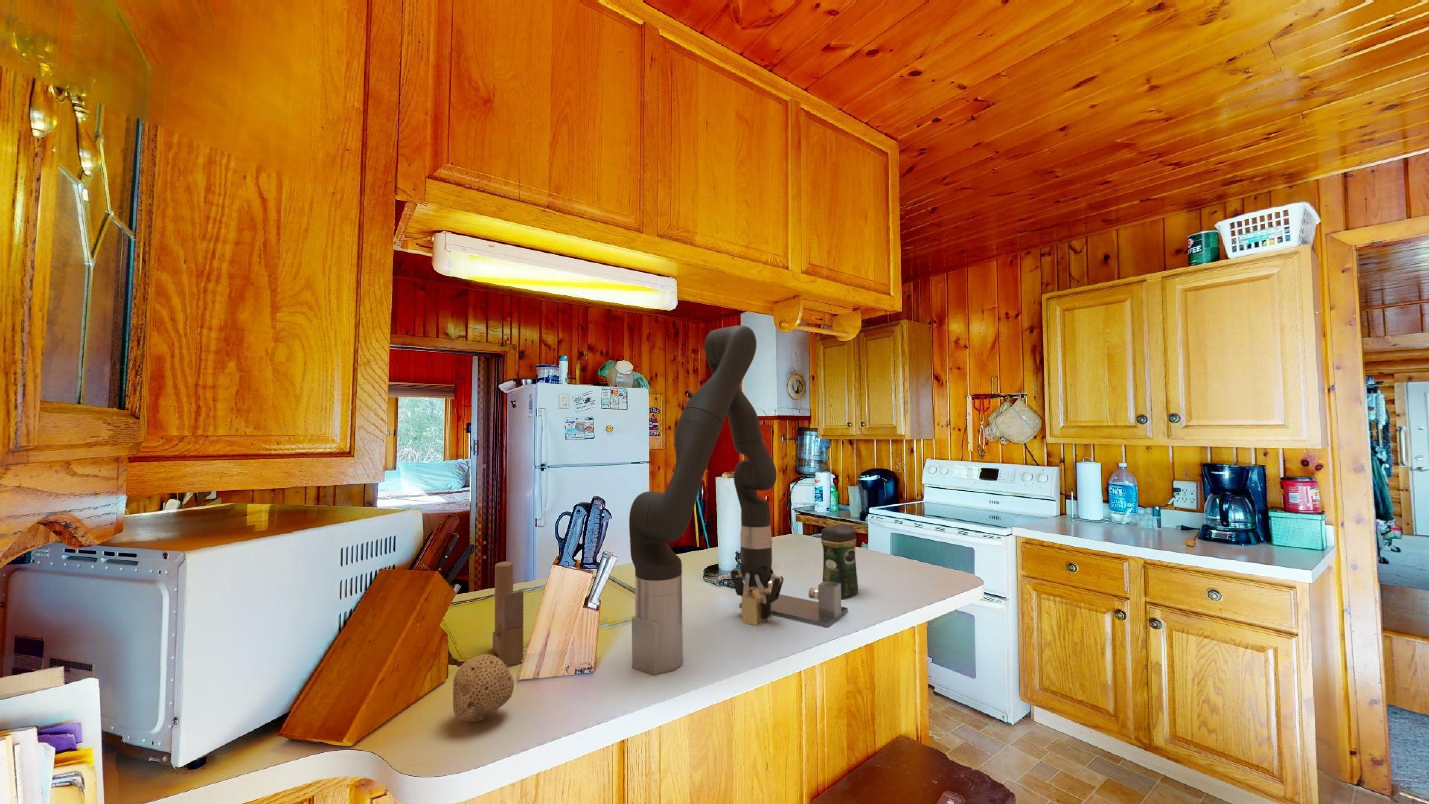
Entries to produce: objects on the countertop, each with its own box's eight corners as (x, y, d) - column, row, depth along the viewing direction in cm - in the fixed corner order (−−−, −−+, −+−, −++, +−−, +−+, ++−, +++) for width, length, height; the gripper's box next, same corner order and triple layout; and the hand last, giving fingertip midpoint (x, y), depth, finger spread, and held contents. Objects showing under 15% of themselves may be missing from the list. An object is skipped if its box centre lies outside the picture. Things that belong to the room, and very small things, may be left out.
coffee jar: (839, 587, 151) (837, 521, 151) (862, 593, 145) (861, 525, 145) (817, 594, 144) (815, 525, 145) (841, 601, 138) (839, 529, 139)
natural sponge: (519, 702, 90) (519, 642, 90) (506, 732, 81) (506, 666, 82) (462, 707, 89) (462, 646, 89) (443, 738, 80) (443, 670, 80)
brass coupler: (771, 616, 128) (771, 591, 129) (756, 625, 123) (756, 599, 123) (757, 613, 131) (757, 588, 131) (742, 622, 125) (741, 596, 125)
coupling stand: (827, 627, 121) (827, 592, 121) (739, 607, 135) (739, 575, 135) (847, 612, 131) (847, 579, 131) (763, 594, 145) (763, 565, 145)
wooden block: (504, 668, 103) (504, 574, 104) (492, 649, 112) (492, 562, 112) (524, 662, 105) (524, 571, 106) (510, 644, 114) (510, 560, 115)
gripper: (722, 543, 128) (723, 615, 128) (774, 550, 120) (775, 627, 119) (739, 537, 135) (740, 606, 134) (789, 544, 126) (791, 617, 126)
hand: (757, 615), depth 127 cm, fingers closed on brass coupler, 4 cm apart
